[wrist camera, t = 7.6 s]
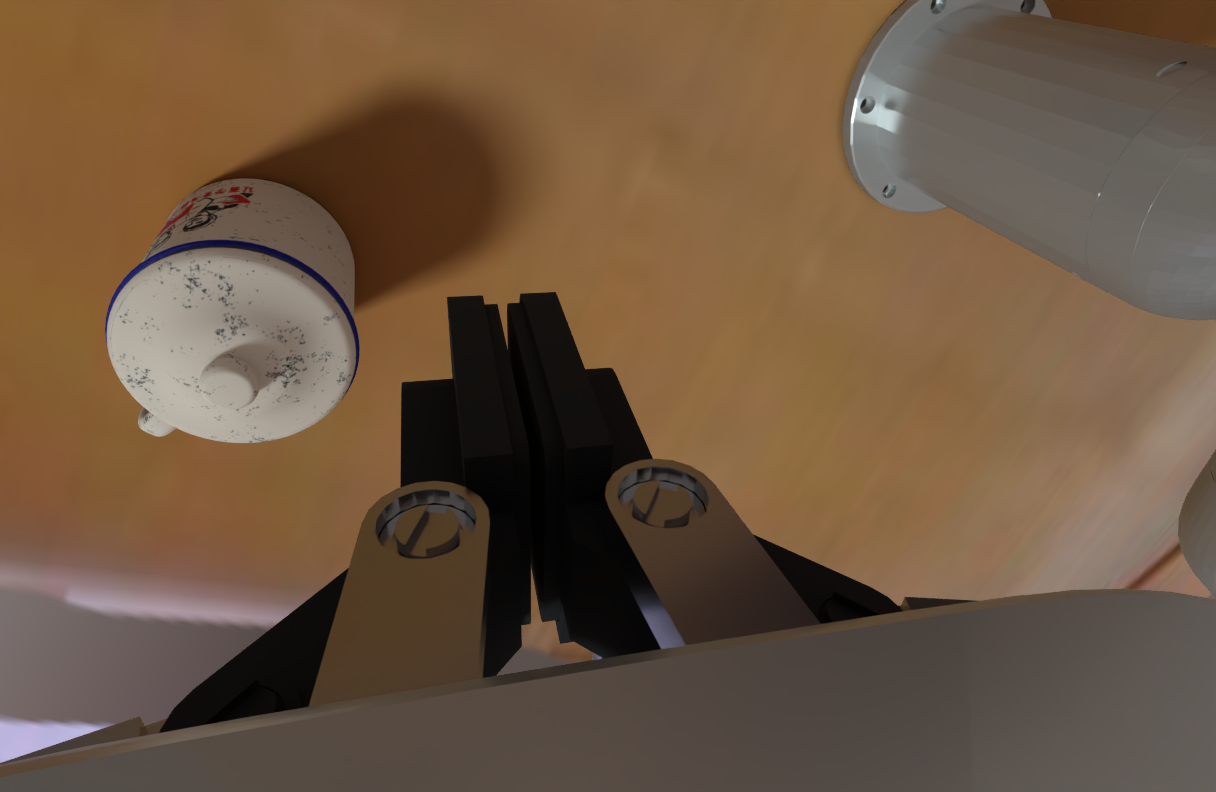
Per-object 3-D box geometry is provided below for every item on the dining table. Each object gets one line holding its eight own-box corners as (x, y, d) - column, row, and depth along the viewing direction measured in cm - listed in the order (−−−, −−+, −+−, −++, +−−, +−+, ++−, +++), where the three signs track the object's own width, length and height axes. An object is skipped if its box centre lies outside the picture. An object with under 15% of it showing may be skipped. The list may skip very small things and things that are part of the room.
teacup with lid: (231, 127, 32) (179, 222, 23) (397, 255, 37) (408, 374, 28) (80, 312, 35) (-22, 465, 25) (255, 407, 40) (222, 562, 31)
